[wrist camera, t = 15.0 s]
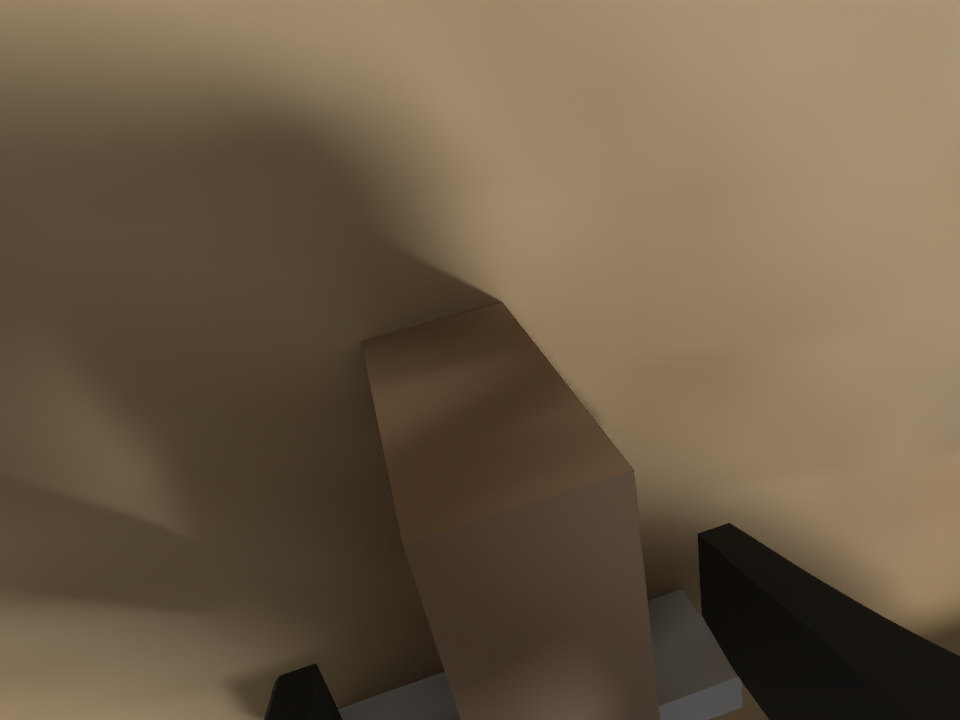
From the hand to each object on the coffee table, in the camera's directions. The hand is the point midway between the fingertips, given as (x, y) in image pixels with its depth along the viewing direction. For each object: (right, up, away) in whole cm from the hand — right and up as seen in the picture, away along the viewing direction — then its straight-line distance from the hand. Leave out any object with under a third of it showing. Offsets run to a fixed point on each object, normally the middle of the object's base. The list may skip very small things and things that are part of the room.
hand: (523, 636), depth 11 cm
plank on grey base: (-1, +2, +1) cm, 3 cm away
